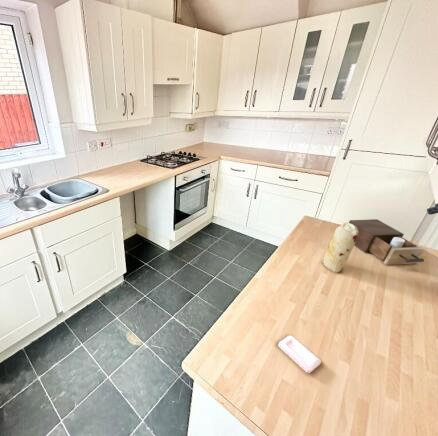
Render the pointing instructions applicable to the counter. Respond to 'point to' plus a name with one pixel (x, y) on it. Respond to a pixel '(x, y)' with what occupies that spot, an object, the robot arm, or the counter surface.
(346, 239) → the food model
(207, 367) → the counter surface
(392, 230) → the cabinet
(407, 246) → the drawer
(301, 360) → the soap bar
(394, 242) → the tube
